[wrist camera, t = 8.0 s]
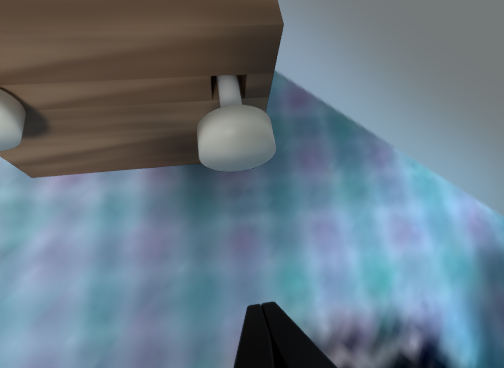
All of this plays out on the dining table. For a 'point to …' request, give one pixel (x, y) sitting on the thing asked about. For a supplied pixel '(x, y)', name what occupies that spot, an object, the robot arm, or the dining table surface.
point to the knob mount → (128, 77)
